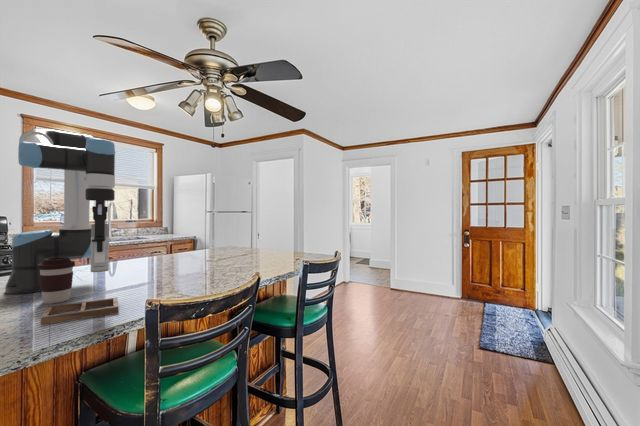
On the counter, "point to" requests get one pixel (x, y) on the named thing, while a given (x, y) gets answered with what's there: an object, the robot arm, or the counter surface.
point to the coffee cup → (56, 279)
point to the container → (105, 265)
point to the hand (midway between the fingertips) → (99, 260)
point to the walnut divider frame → (83, 313)
